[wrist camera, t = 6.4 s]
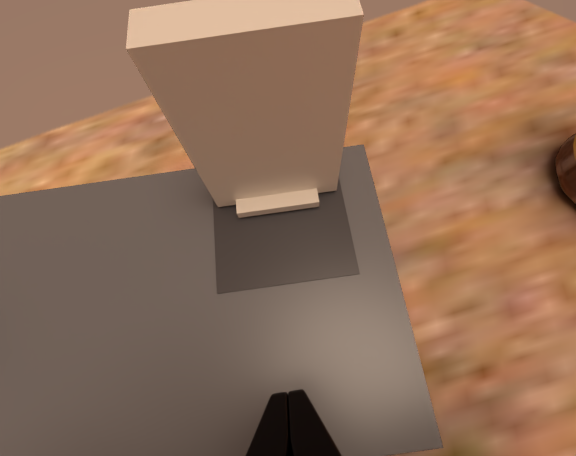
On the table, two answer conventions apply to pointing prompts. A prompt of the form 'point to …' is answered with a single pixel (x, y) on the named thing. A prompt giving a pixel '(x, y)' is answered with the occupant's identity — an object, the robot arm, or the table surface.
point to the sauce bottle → (567, 167)
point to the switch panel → (201, 320)
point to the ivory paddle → (254, 92)
